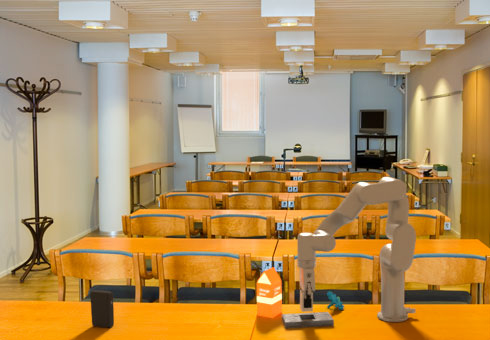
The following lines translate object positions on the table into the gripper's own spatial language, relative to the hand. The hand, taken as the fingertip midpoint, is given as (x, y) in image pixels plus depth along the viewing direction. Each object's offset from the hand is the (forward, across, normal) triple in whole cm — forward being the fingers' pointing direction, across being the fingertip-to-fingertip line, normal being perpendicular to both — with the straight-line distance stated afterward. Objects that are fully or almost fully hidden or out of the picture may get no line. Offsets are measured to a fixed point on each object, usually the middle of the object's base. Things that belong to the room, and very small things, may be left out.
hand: (306, 305), depth 251 cm
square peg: (+2, 0, 0) cm, 2 cm away
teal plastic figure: (+8, +16, -17) cm, 25 cm away
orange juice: (+8, +14, +14) cm, 21 cm away
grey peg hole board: (+8, 0, 0) cm, 8 cm away
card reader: (+9, +9, +85) cm, 86 cm away
